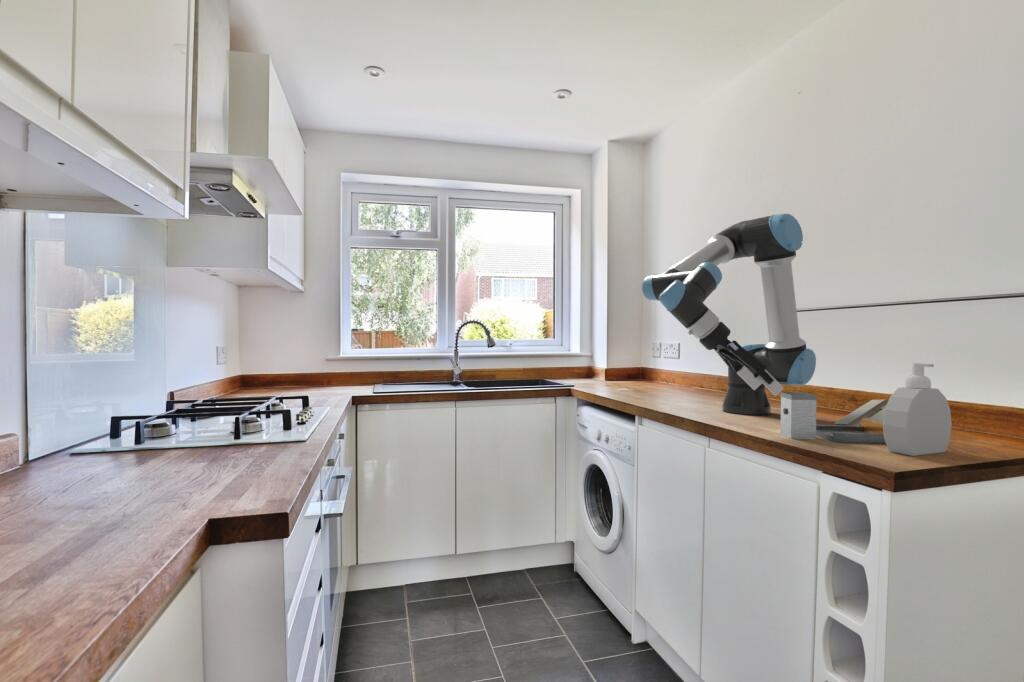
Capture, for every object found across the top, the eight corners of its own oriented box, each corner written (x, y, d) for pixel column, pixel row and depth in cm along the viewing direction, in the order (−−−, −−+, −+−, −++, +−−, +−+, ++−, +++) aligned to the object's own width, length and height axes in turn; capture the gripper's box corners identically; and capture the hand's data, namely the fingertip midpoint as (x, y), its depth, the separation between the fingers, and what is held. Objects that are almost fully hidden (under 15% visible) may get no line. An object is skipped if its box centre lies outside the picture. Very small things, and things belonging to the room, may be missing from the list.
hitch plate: (810, 432, 134) (810, 417, 134) (865, 434, 132) (866, 418, 132) (835, 442, 122) (835, 424, 122) (896, 443, 120) (896, 426, 120)
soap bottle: (908, 457, 106) (909, 364, 106) (881, 452, 111) (883, 363, 111) (953, 452, 112) (955, 363, 112) (926, 447, 117) (928, 362, 117)
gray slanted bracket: (900, 449, 133) (933, 411, 136) (878, 424, 134) (911, 387, 136) (852, 445, 149) (882, 412, 152) (832, 424, 150) (862, 390, 153)
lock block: (779, 434, 132) (779, 392, 132) (804, 434, 131) (804, 392, 131) (789, 438, 126) (790, 394, 125) (816, 439, 125) (816, 395, 125)
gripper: (686, 340, 142) (740, 393, 141) (712, 340, 118) (778, 405, 116) (706, 322, 142) (760, 375, 140) (736, 318, 117) (802, 383, 116)
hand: (768, 389), depth 128 cm, fingers open, 13 cm apart
